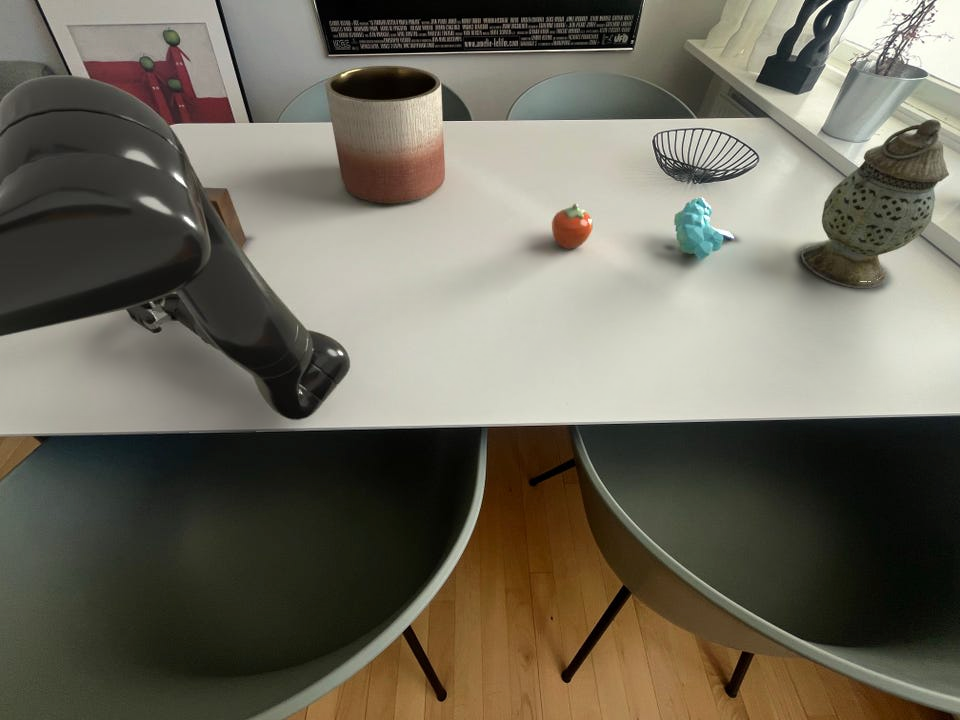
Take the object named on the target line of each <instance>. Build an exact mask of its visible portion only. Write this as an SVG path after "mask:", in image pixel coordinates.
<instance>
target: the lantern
mask: <svg viewBox="0 0 960 720" xmlns="http://www.w3.org/2000/svg"><path fill="white" fill-rule="evenodd" d="M941 129H942V125H941V122H940V121H939V120H937V119H933V118H932V119H927V120H925V121H922V122H921V123H920V124H915V125H914V124H913V125H911V126H908V127H905V128H903V129H900V130H897V131H896V132H894V133H893V134H890V136H889V137H887V138H886V139H885V141H884V142H883V143H882V144H880V145H877V146H873V147H871V148H869V149H868V150H866V151H865V152H864V155H863V160H864V161H863V162H862V163H861V164H860V166H859V167H857V168H856V169H855V170H854V171H852V172H851V173H850V174H849V175H847V176H846V177H845V178H844V179H843V180H842V181H840V182H839V183H838V184H837V185H835V187H834V188H833V189H832V191H831V192H830V193H829V195H828V196H827V198H826V200H825V201H824V204H823V208H822V215H821V226H822V229H823V231H824V233H825V234H826V236H827V238H828V239H826V240H823V241H819V242H815V243H811V244H809V245H807V246H806V247H804V248H803V250H802V251H801V255H800V257H801V261H802V263H803V264H804V265H805V266H806V267H807V268H808V269H809V270H810V271H811V272H812V273H814V274H815V275H817V276H818V277H820V278H822V279H823V280H826V281H828V282H830V283H833V284H836V285H840V286H843V287H848V288H853V289H871V288H876V287H878V286H880V285H881V284H882V283H883V282H884V281H885V279H886V275H887V272H886V271H885V269H884V267H883V265H882V264H881V262H880V259H879V256H880V255H883V254H887V253H890V252H893V251H897V250H900V249H902V248H903V247H905V246H906V245H908V244H910V242H912V241H914V240H915V239H917V238H918V237H920V236H921V235H922V233H923V232H924V231H925V229H926V228H927V227H928V226H929V224H930V223H931V222H932V218H933V213H934V209H935V203H936V193H935V188H936V186H937V184H938V183H939V182H942V181H943V180H944V179H946V178H948V176H949V175H950V173H949V171H948V169H947V167H948V166H947V164H946V161H945V159H944V143H942V142H941V141H939V140H938V139H939V133H940V131H941ZM911 131H915V132H911ZM881 265H882V266H881ZM882 267H883V268H882ZM883 270H884V273H883ZM882 275H883V276H882ZM881 276H882V277H881ZM880 277H881V278H880ZM879 278H880V279H879ZM877 279H878V280H877ZM860 281H867V282H860ZM868 281H871V282H868Z"/></svg>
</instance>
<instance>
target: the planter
mask: <svg viewBox="0 0 960 720" xmlns="http://www.w3.org/2000/svg"><path fill="white" fill-rule="evenodd" d="M324 86H325V94H326V99H327V103H328V108H329V114H330V120H331V126H332V130H333V137H334V142H335V148H336V154H337V159H338V160H337V161H338V166H339V172H340V177H341V180H342V184H343V187H344V188H345V190H347V192H349V193H350V194H352V195H353V196H355V197H357V198H359V199H361V200H364V201H368V202H371V203H376V204H384V205H396V204H397V205H399V204H407V203H411V202H416V201H419V200H423V199H424V198H426V197H427V198H428V196H431V195H432V194H434V193H435V192H436V191H438V190H439V189H440V188H441V187H442V186H443V184H444V181H445V177H446V161H445V140H444V139H445V138H444V122H443V121H444V120H443V101H442V100H443V97H442V95H443V94H442V81H441V79H440V78H439V77H438V76H437V75H435V74H434V73H431V72H429V71H427V70H424V69H422V68H421V69H420V68H416V67H411V66H404V65H403V66H402V65H371V66H370V65H369V66H362V67H356V68H351V69H348V70H344V71H341V72H339V73H336V74H334V75H332V76H331V77H329V78H328V79H327V80H326V82H325V85H324Z"/></svg>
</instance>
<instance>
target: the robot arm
mask: <svg viewBox="0 0 960 720" xmlns="http://www.w3.org/2000/svg"><path fill="white" fill-rule="evenodd" d="M203 187H204V186H203V184H202V183H201V180H200V179H199V177H198V175H197V173H196V171H195V169H194V167H193V165H192V163H191V161H190V158H189V155H188V154H187V152H186V149H185V147H184V146H183V144H182V142H181V141H180V139H179V137H178V135H177V133H175V132H174V130H173V128H172V127H171V125H170V124H169V123H167V121H166V120H165V119H164V118H163V117H162V116H161V115H159V114H158V112H156V111H155V110H154V109H153V108H152V107H151V106H149V105H148V104H147V103H145V102H143V101H142V100H141V99H139V98H137V97H136V96H134V95H133V94H131V93H129V92H127V91H125V90H123V89H121V88H119V87H117V86H115V85H113V84H110V83H106V82H104V81H101V80H97V79H94V78H90V77H84V76H76V75H73V74H71V75H69V74H68V75H60V74H58V75H56V74H55V75H54V74H51V75H46V76H41V77H35V78H31V79H28V80H26V81H24V82H22V83H20V84H18V85H16V86H15V87H14V88H12V89H11V90H10V91H9V92H8V93H6V94H5V95H4V96H3V98H2V99H1V101H0V338H1V337H5V336H10V335H14V334H19V333H23V332H28V331H33V330H37V329H38V330H39V329H42V328H46V327H52V326H55V325H61V324H65V323H70V322H75V321H79V320H84V319H89V318H93V317H97V316H101V315H107V314H111V313H115V312H120V311H124V310H125V311H126V312H127V314H128V315H129V317H130V319H131V320H132V321H133V322H135V323H136V324H138V325H140V326H141V327H143V328H144V329H146V330H147V331H148V332H150V333H152V334H154V335H155V334H160V333H161V332H162V331H163V328H162V327H161V326H162V325H164V324H165V323H167V322H169V321H173V322H179V324H182V325H183V326H184V327H185V328H187V329H188V330H189V331H190V332H192V333H193V334H195V335H196V336H197V337H199V338H200V340H201V341H203V342H204V343H205V344H206V345H209V346H211V347H212V348H213V349H215V350H217V351H219V352H220V353H222V354H223V355H224V356H225V357H227V358H228V359H229V360H230V361H231V362H233V363H235V365H237V366H239V367H240V368H241V369H243V370H244V371H246V372H247V373H248V374H250V375H251V376H252V379H253V380H254V382H255V386H256V388H257V389H258V392H259V393H260V395H261V397H262V399H263V400H264V401H265V403H266V404H267V406H269V408H270V409H272V411H274V412H275V413H276V414H278V415H279V416H281V417H282V418H284V419H287V420H292V421H301V420H305V419H307V418H309V417H311V416H313V415H314V414H315V413H316V412H317V411H318V410H319V409H320V407H321V406H322V405H323V404H324V402H325V401H326V400H327V399H328V398H329V396H331V394H332V393H333V392H334V391H335V389H336V388H337V387H338V385H340V383H341V382H342V381H343V380H344V379H345V377H346V376H347V375H348V373H349V372H350V371H349V370H350V368H351V360H350V357H349V354H348V351H347V350H346V348H345V347H344V346H343V345H342V344H341V343H340V342H339V341H337V340H336V339H334V338H332V337H331V336H328V335H326V334H324V333H321V332H319V331H314V330H311V329H307V328H306V327H305V325H304V324H303V323H302V322H301V321H300V320H299V319H298V318H297V316H296V315H295V314H294V312H293V311H291V309H290V308H289V307H288V306H287V305H286V304H285V302H284V301H283V300H282V299H281V298H280V297H279V295H277V293H276V292H275V291H274V289H273V288H272V287H271V286H270V284H268V282H267V281H266V280H265V278H264V277H263V275H262V274H261V273H260V272H259V270H258V269H257V267H255V265H254V264H253V262H251V260H250V258H249V257H248V256H247V254H246V253H245V252H244V251H243V249H242V247H241V248H240V246H239V245H238V243H237V242H236V240H235V239H234V237H233V236H232V234H231V233H230V231H229V230H228V228H227V227H226V225H225V224H224V222H223V220H222V219H221V217H220V216H219V214H218V212H217V211H216V209H215V207H214V206H213V204H212V203H211V201H210V199H209V197H208V195H207V193H206V192H205V190H204V188H205V187H204V188H203ZM163 298H166V299H165V301H164V299H163Z"/></svg>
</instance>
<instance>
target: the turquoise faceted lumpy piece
mask: <svg viewBox="0 0 960 720" xmlns="http://www.w3.org/2000/svg"><path fill="white" fill-rule="evenodd" d="M711 215H712V207H711V206H710V205H709V204H708V203H707V202H706V200H705V199H704V198H703V197H701V196H699V197H696V198H692V199H691V201H688V202H686V203H685V206H684V207H683V209H682V210H681V211H679V212H677V213H675V214H674V219H673V224H674V226H675V230H674V231H675V232H676V234H675V236H676V238H675V239H676V240H677V242H678V243H679V246H680V247H679V248H680V251H682V252H683V253H685V254H689V255H692V254H694V255H695V256H696V257H697V259H698V260H700V261H702V260H704V259H705V258H707V257H709V256H710V255H711V254H712V252H717V251H719V250H720V249H721V247H722V245H723V243H724V238H725V239H729V240H735V237H734V236H733V234H732V233H731V232H730V231H727V230H723V229H718V228H715V227H713V226H712V225H710V222H711V221H710V217H711Z"/></svg>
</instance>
